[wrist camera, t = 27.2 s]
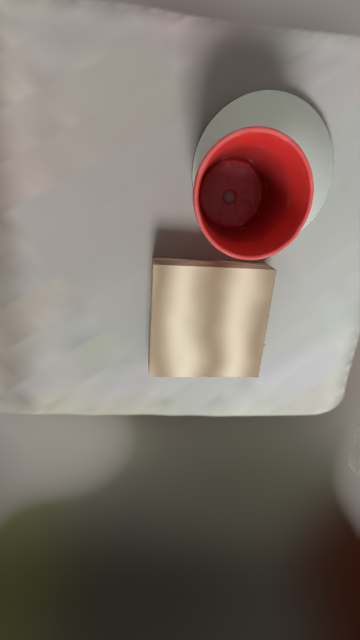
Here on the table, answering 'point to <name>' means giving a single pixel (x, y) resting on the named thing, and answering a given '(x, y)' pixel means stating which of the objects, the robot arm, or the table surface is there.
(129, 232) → the table surface
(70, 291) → the table surface
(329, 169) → the pale grey round plate
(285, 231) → the flower pot
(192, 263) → the stand
